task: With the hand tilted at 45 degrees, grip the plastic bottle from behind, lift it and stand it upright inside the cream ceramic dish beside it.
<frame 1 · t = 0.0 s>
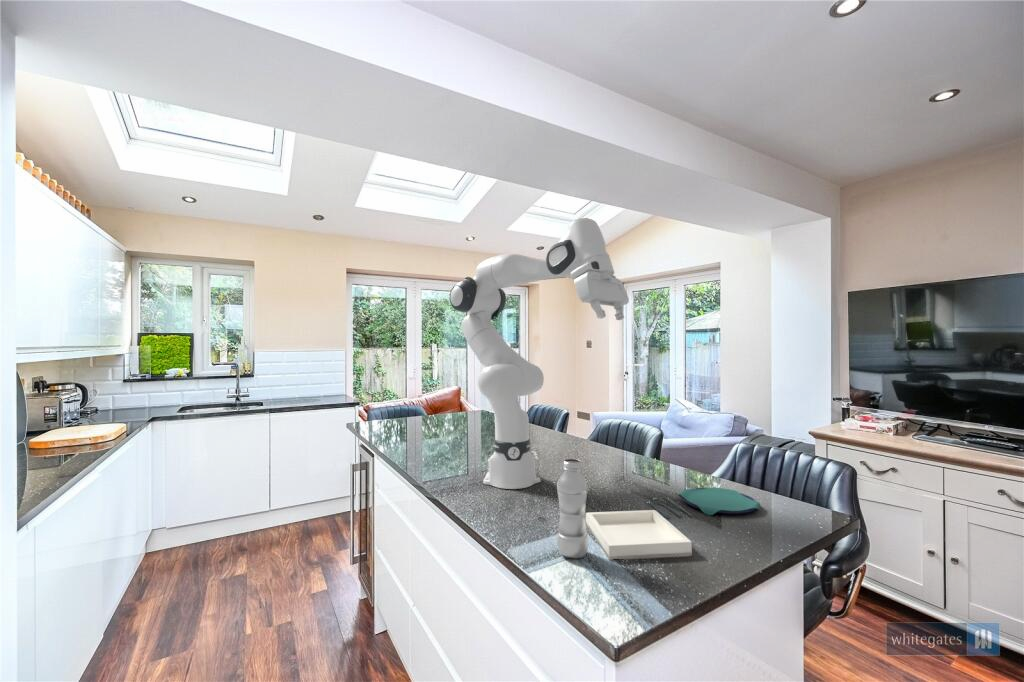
hand: (611, 318, 115), 52 cm above the counter, tool tilted 20°, fingers open, 8 cm apart
ceramic dish: (634, 539, 99), on the counter
cutlery set: (701, 507, 121), on the counter
plastic bottle: (572, 555, 91), on the counter
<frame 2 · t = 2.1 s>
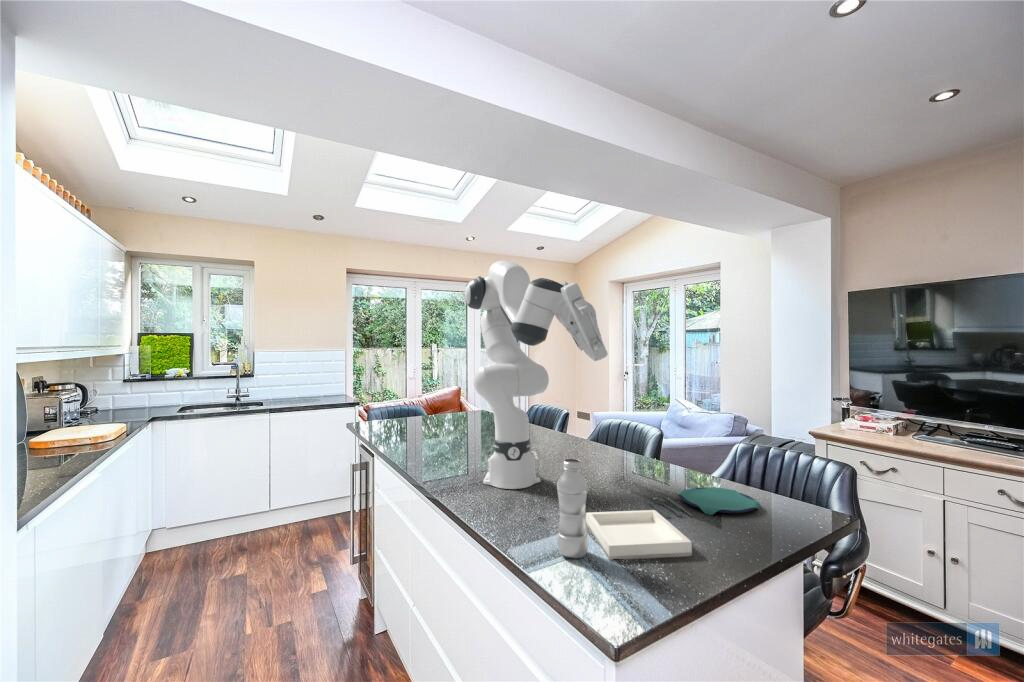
hand: (592, 328, 98), 49 cm above the counter, tool tilted 75°, fingers open, 8 cm apart
nothing on the counter moved.
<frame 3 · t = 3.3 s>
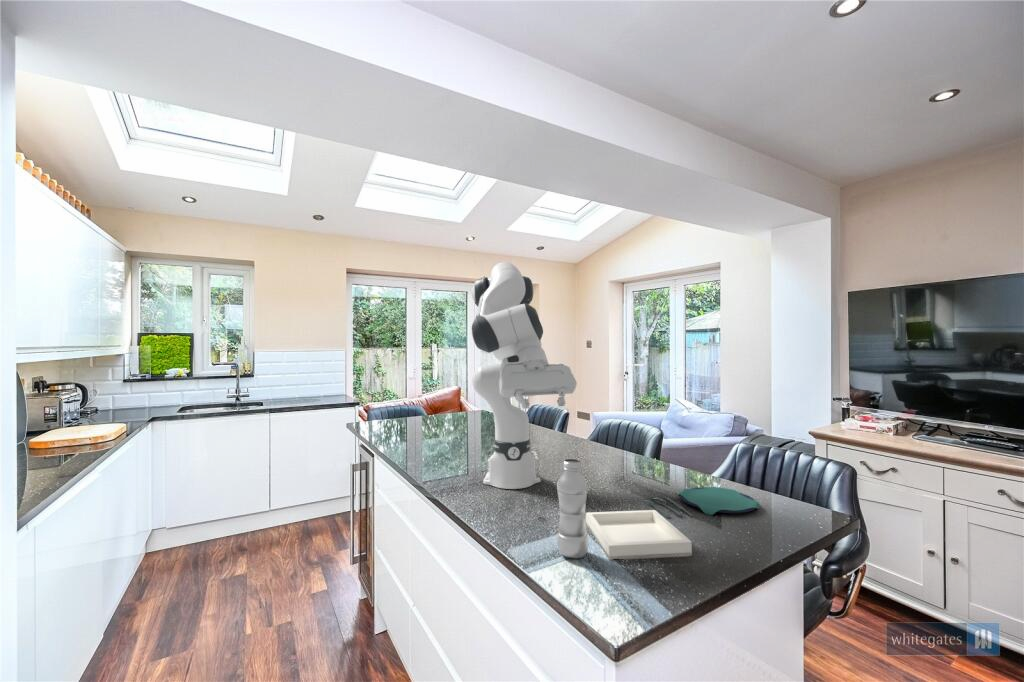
hand: (544, 405, 106), 30 cm above the counter, tool tilted 45°, fingers open, 8 cm apart
nothing on the counter moved.
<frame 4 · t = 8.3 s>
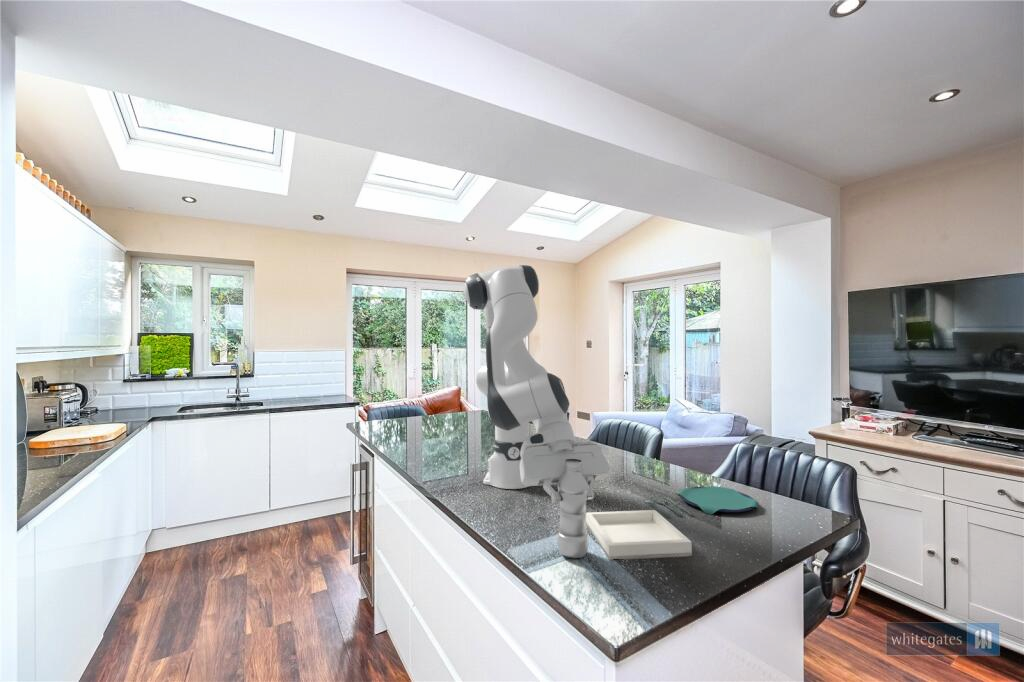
hand: (573, 500, 91), 12 cm above the counter, tool tilted 45°, fingers closed on plastic bottle, 6 cm apart
plastic bottle: (572, 555, 91), on the counter, touching gripper
everything else where it was.
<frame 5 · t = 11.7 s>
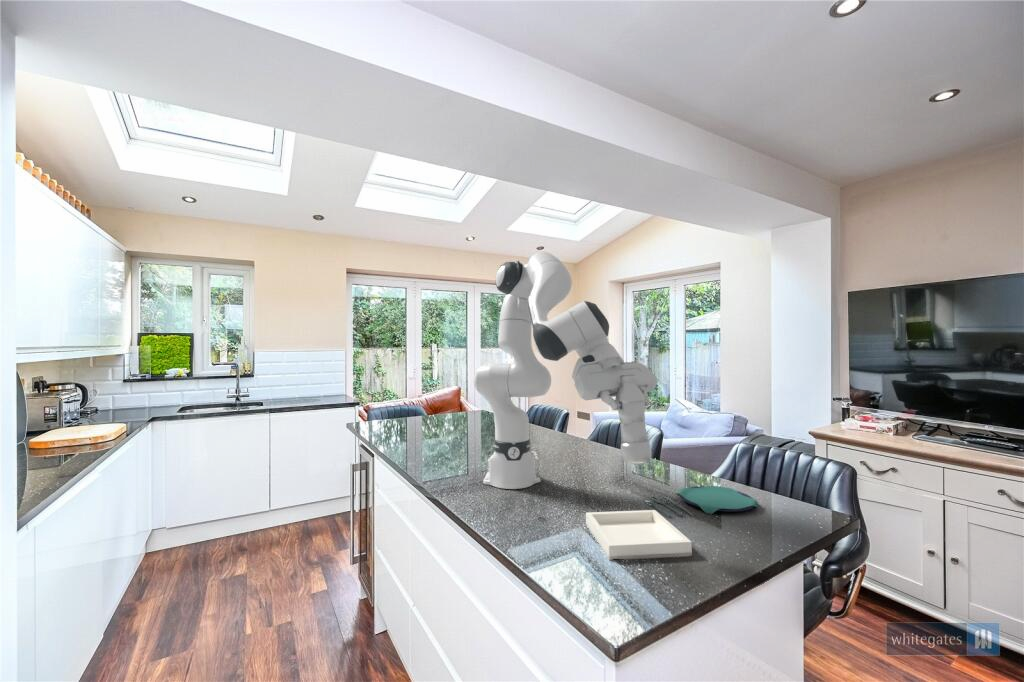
hand: (632, 406, 98), 31 cm above the counter, tool tilted 50°, fingers closed on plastic bottle, 6 cm apart
plastic bottle: (637, 464, 96), point 18 cm above the counter, touching gripper
when the fingers open (14 cm above the counter, at t = 15.4 s): plastic bottle stays where it is, resting on ceramic dish.
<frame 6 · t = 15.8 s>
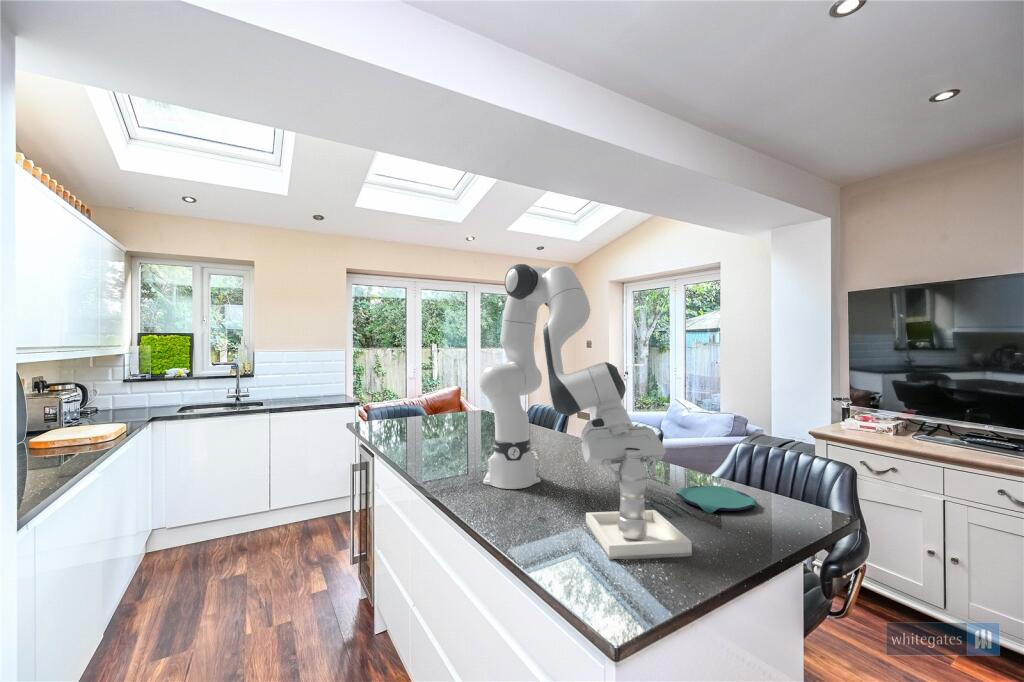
hand: (635, 478, 99), 14 cm above the counter, tool tilted 45°, fingers open, 8 cm apart
plastic bottle: (632, 538, 98), point 1 cm above the counter, touching ceramic dish, gripper
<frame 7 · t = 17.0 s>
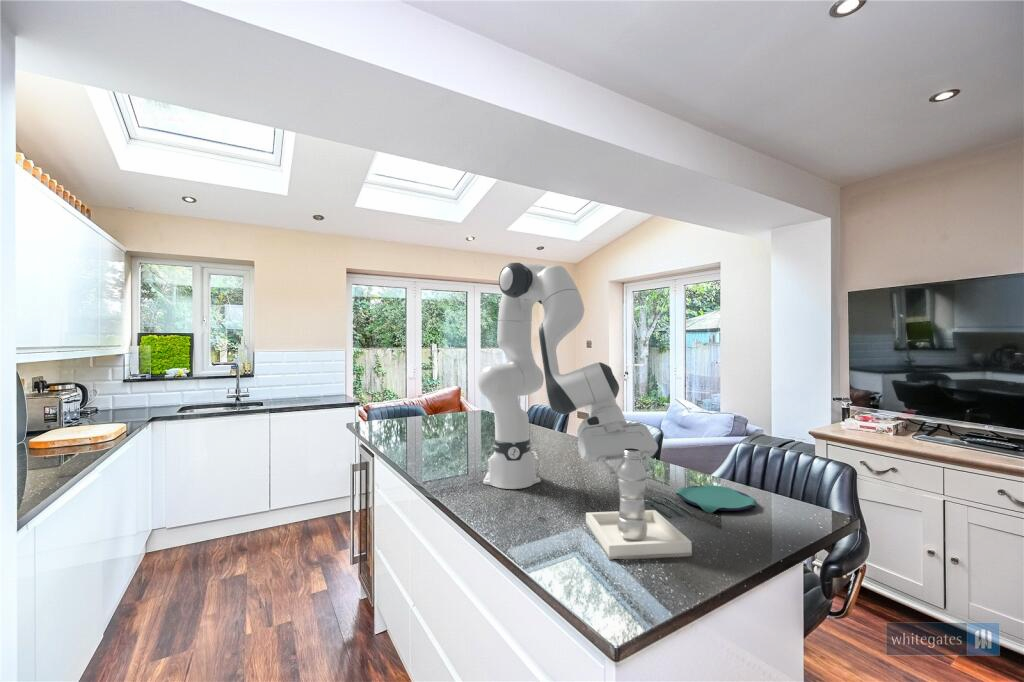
hand: (629, 473, 103), 14 cm above the counter, tool tilted 45°, fingers open, 8 cm apart
plastic bottle: (632, 538, 98), point 1 cm above the counter, touching ceramic dish
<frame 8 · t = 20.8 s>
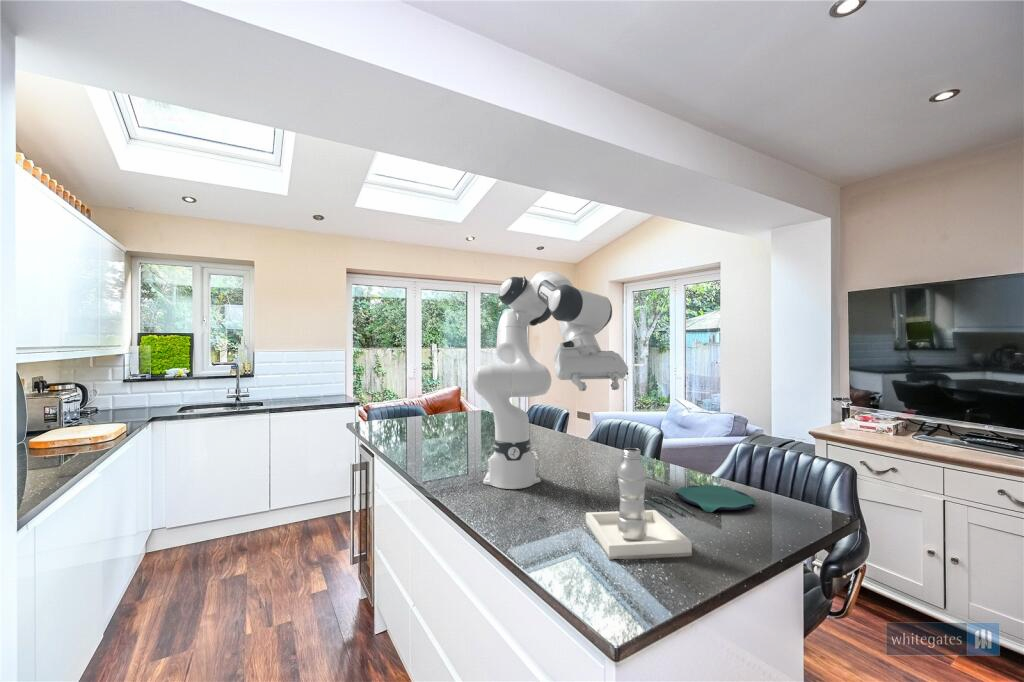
hand: (600, 389, 112), 33 cm above the counter, tool tilted 45°, fingers open, 8 cm apart
at the end: plastic bottle inside the target area on the ceramic dish (1.4 cm from its centre), point 0.6 cm above the ceramic dish's base; plastic bottle tilted 0°; the gripper is holding nothing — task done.
